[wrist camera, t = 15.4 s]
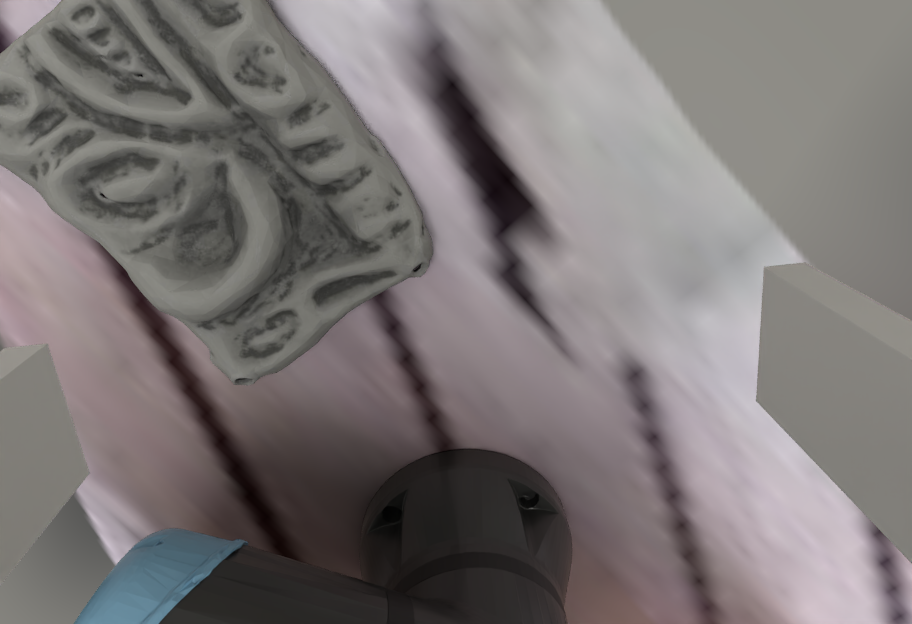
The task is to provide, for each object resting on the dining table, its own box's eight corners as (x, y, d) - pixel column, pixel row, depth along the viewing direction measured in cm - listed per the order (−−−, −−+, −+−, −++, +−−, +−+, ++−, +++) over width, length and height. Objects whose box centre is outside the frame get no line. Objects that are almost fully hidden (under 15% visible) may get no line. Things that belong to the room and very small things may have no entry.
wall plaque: (-59, 109, 39) (-107, 118, 35) (196, -112, 36) (171, -127, 32) (228, 404, 47) (212, 435, 43) (459, 246, 44) (462, 266, 40)
